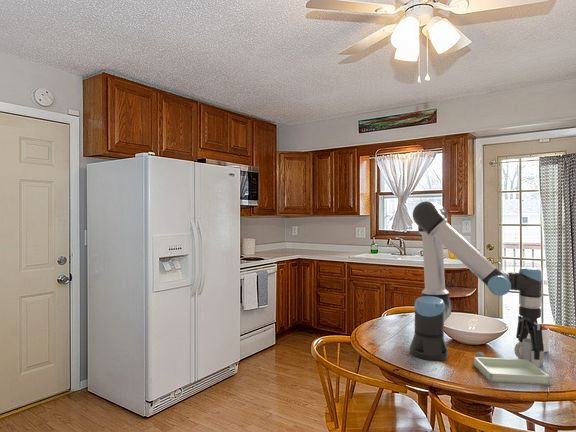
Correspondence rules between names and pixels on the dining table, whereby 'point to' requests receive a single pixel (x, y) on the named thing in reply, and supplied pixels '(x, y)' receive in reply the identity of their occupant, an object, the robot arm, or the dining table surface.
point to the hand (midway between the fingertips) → (528, 362)
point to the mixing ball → (479, 354)
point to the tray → (511, 371)
